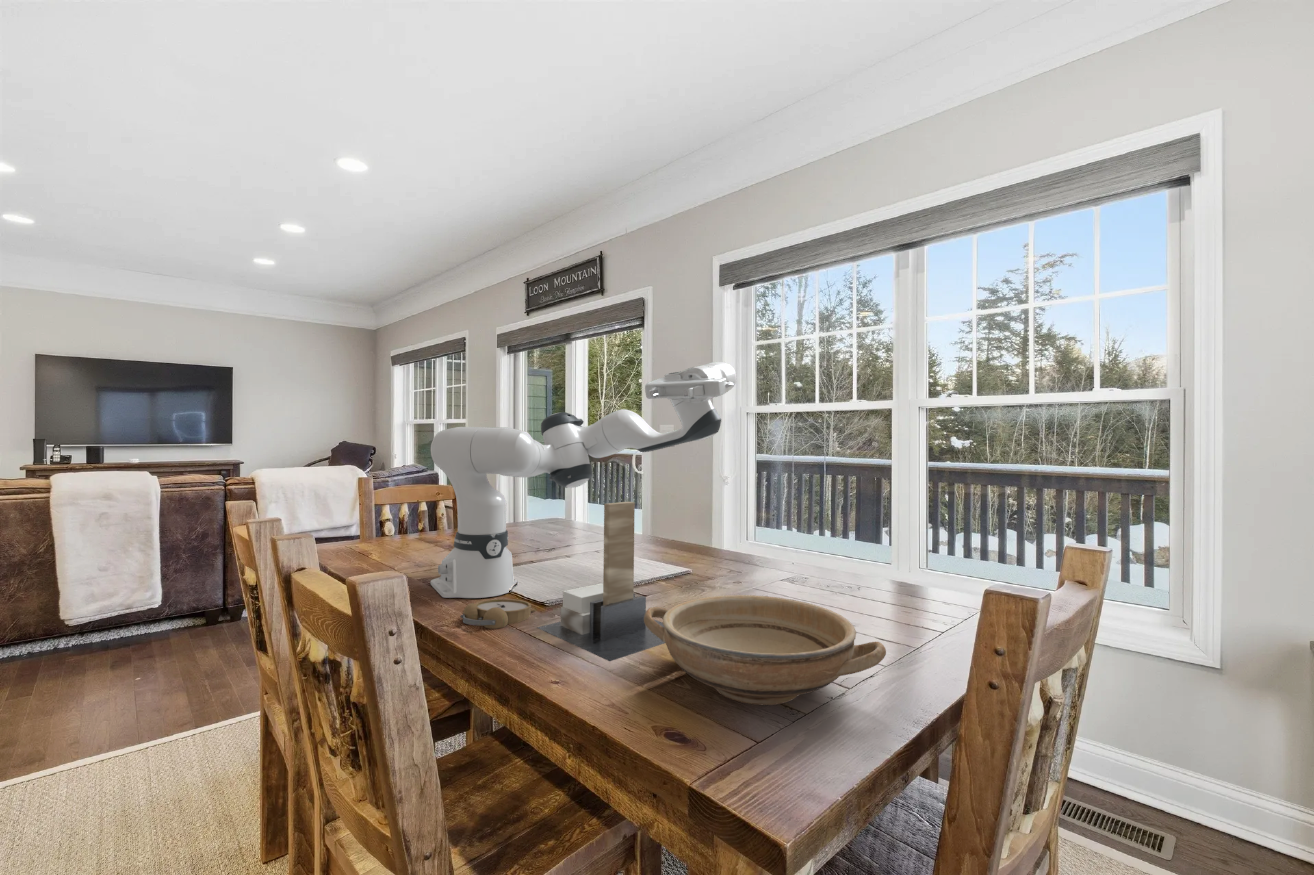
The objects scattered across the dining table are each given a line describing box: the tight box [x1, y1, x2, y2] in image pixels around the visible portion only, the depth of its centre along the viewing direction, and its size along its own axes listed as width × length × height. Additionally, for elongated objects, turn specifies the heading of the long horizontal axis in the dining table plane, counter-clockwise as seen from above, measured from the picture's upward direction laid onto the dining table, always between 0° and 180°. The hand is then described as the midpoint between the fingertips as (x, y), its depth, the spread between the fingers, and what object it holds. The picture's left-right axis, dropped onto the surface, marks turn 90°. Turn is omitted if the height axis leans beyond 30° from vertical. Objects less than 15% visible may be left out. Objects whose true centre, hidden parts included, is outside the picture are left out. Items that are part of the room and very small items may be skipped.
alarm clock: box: [460, 598, 536, 630], centre depth 117 cm, size 11×5×15 cm
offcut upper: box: [562, 582, 603, 614], centre depth 115 cm, size 6×10×3 cm, turn 133°
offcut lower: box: [560, 606, 590, 635], centre depth 115 cm, size 7×12×4 cm, turn 133°
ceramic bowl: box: [644, 594, 887, 706], centre depth 89 cm, size 37×29×10 cm
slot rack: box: [536, 593, 666, 662], centre depth 111 cm, size 22×20×7 cm
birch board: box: [602, 501, 636, 605], centre depth 110 cm, size 2×6×24 cm, turn 133°
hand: (668, 393), depth 133 cm, fingers open, 8 cm apart
